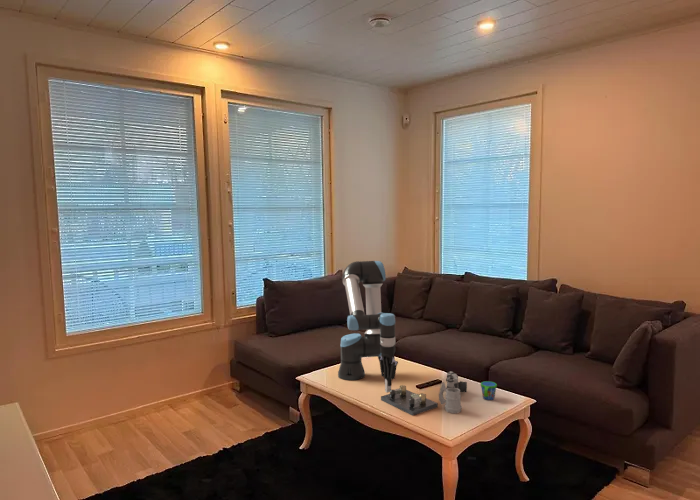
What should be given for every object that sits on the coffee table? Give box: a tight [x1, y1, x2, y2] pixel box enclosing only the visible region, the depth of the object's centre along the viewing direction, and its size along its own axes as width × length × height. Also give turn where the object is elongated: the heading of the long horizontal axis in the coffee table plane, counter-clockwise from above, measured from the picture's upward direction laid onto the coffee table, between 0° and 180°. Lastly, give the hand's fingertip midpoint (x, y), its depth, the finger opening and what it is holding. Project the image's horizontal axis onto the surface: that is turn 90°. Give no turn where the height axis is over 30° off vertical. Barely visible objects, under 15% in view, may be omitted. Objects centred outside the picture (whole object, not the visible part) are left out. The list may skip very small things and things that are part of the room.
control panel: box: [380, 389, 439, 416], centre depth 242 cm, size 23×16×4 cm
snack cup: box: [480, 380, 498, 401], centre depth 247 cm, size 11×8×7 cm
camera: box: [445, 371, 468, 393], centre depth 254 cm, size 16×10×10 cm, turn 167°
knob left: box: [389, 384, 407, 398], centre depth 246 cm, size 3×10×4 cm, turn 125°
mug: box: [438, 381, 463, 414], centre depth 234 cm, size 8×12×12 cm, turn 43°
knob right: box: [409, 393, 427, 407], centre depth 235 cm, size 3×10×4 cm, turn 125°
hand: (388, 391), depth 249 cm, fingers closed
